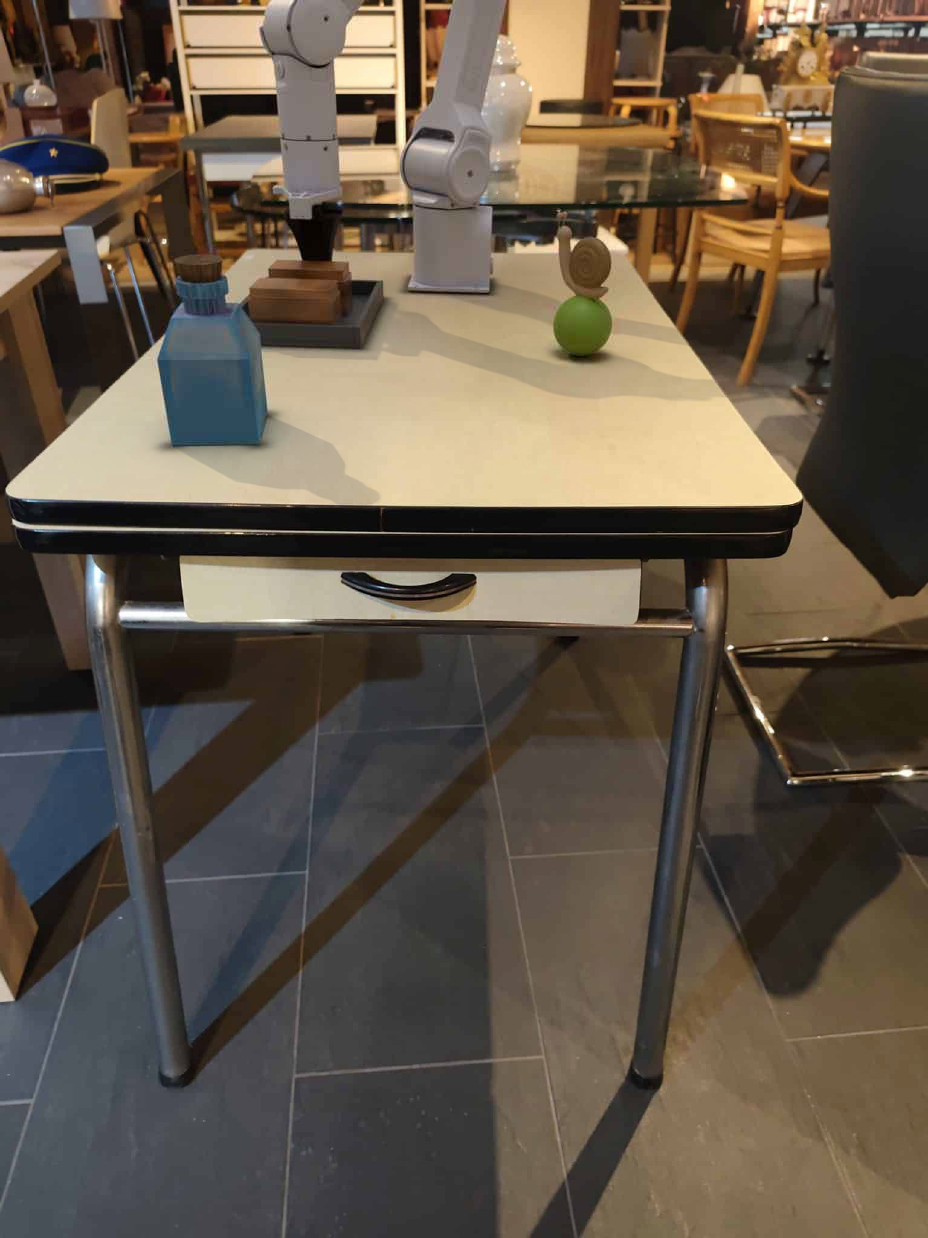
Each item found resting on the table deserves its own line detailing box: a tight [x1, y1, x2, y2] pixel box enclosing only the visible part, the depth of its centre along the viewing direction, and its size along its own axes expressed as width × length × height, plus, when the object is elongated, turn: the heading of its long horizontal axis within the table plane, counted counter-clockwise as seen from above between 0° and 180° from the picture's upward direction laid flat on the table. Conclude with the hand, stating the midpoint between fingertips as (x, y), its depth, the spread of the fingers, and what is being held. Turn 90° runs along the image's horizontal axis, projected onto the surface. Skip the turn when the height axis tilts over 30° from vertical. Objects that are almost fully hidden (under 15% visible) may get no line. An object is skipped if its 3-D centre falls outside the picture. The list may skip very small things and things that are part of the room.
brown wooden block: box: [248, 277, 342, 325], centre depth 85 cm, size 8×4×4 cm, turn 88°
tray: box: [239, 276, 385, 349], centre depth 92 cm, size 13×19×2 cm
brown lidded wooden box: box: [267, 259, 353, 316], centre depth 92 cm, size 8×4×4 cm, turn 88°
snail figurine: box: [552, 211, 613, 357], centre depth 81 cm, size 5×6×12 cm
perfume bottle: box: [156, 254, 269, 447], centre depth 63 cm, size 6×6×12 cm
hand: (318, 280), depth 96 cm, fingers closed
